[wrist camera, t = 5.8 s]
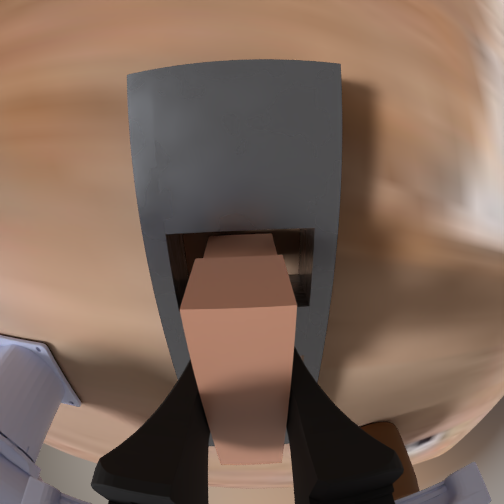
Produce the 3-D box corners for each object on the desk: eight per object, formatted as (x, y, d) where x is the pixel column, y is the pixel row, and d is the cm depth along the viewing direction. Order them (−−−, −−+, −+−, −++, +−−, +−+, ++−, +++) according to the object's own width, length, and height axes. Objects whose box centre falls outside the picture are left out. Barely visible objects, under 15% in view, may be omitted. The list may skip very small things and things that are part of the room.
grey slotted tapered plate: (204, 416, 21) (201, 445, 19) (150, 83, 11) (127, 74, 9) (299, 413, 21) (304, 441, 19) (320, 75, 11) (340, 63, 9)
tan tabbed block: (225, 369, 18) (221, 464, 11) (207, 221, 14) (179, 309, 7) (271, 367, 18) (281, 462, 11) (271, 218, 14) (296, 304, 7)
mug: (373, 458, 28) (389, 514, 20) (319, 469, 28) (330, 530, 20) (405, 412, 23) (434, 483, 15) (338, 427, 23) (358, 509, 15)
